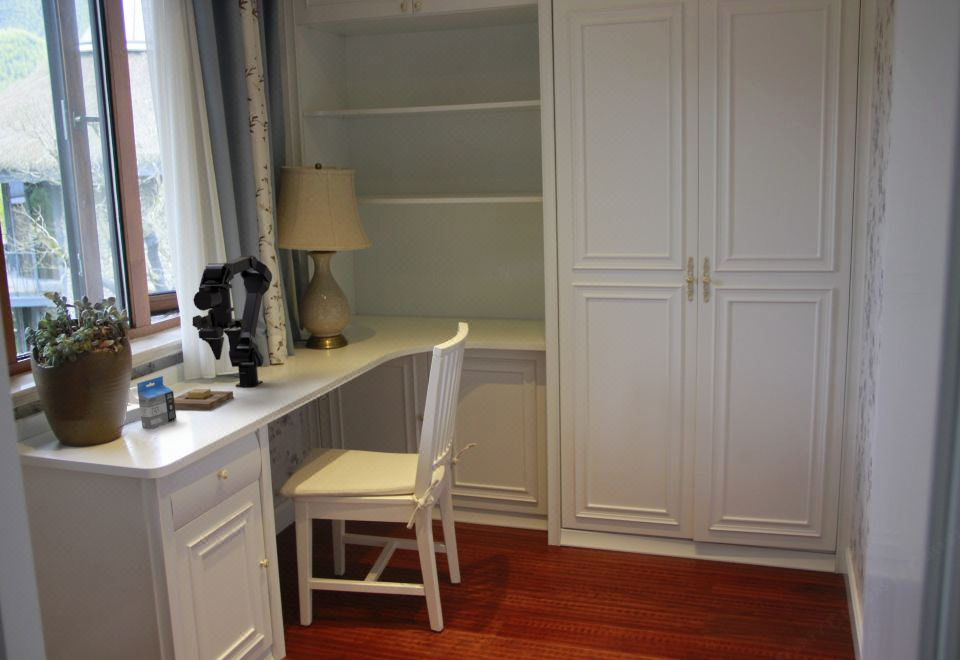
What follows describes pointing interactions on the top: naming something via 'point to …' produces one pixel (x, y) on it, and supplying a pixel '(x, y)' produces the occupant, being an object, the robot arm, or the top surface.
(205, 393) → the tan wooden block
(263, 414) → the top surface
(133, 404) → the bracket
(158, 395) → the label tape box
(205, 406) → the brown square frame
